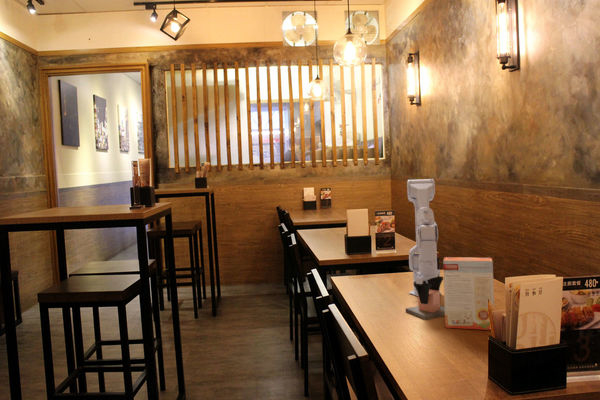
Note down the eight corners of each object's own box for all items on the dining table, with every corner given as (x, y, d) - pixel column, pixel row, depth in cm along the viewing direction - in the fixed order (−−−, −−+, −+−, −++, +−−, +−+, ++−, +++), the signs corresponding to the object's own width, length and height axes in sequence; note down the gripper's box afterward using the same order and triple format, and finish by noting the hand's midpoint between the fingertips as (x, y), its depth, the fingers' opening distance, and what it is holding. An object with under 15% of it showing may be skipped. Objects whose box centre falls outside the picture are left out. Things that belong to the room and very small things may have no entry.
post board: (433, 306, 168) (433, 290, 167) (453, 313, 158) (453, 296, 158) (405, 311, 163) (405, 295, 162) (424, 319, 153) (424, 302, 153)
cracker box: (493, 324, 146) (492, 256, 145) (494, 331, 140) (493, 260, 139) (445, 321, 151) (443, 256, 149) (444, 328, 145) (443, 259, 144)
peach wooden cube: (425, 306, 164) (424, 288, 164) (439, 308, 161) (439, 290, 160) (418, 309, 160) (418, 292, 160) (433, 312, 157) (433, 294, 156)
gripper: (426, 255, 167) (427, 294, 168) (406, 263, 156) (408, 304, 157) (445, 257, 163) (446, 296, 164) (427, 265, 152) (428, 307, 153)
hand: (429, 300), depth 160 cm, fingers open, 7 cm apart
